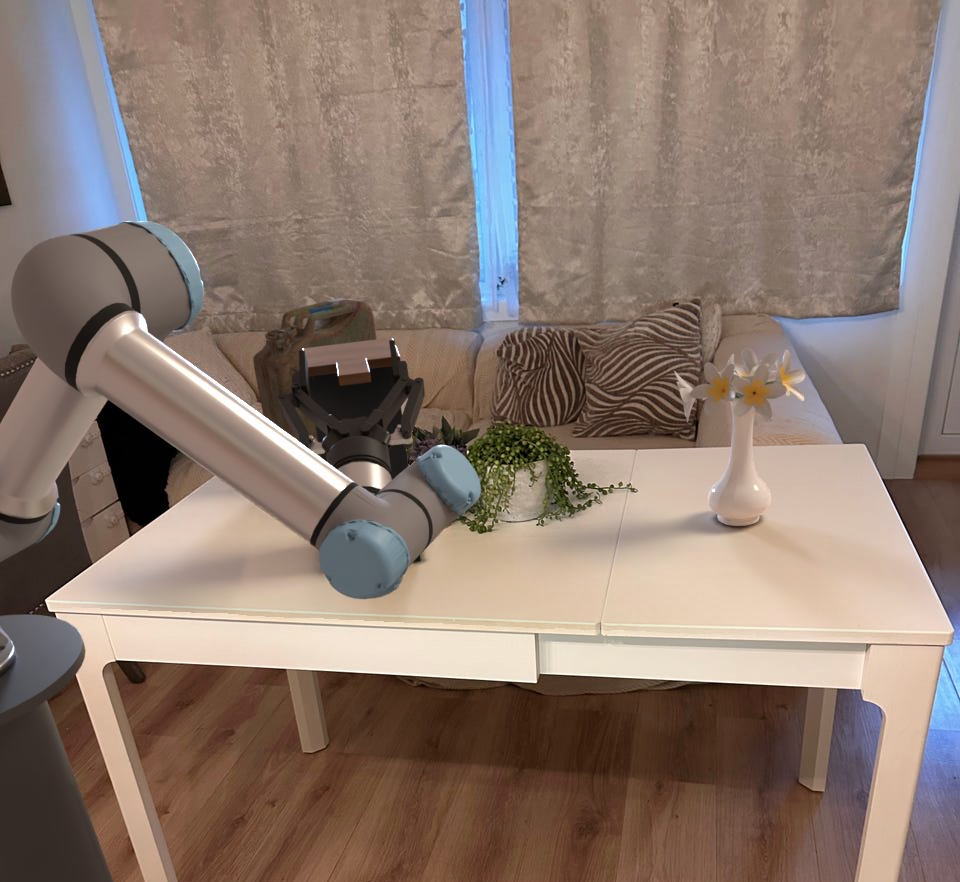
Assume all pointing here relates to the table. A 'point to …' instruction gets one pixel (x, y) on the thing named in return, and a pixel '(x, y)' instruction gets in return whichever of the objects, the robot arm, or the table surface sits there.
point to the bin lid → (350, 359)
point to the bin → (359, 406)
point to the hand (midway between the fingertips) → (348, 353)
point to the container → (282, 347)
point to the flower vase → (743, 426)
